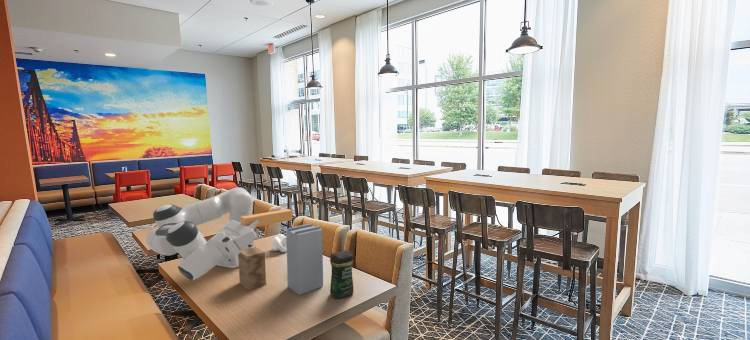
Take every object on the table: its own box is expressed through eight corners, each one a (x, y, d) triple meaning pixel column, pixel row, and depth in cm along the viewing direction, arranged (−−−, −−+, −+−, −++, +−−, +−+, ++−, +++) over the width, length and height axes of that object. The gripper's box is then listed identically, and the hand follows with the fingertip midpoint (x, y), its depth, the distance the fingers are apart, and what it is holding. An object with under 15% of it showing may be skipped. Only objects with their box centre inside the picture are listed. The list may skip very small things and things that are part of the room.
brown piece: (248, 289, 151) (247, 256, 149) (239, 282, 158) (238, 250, 157) (266, 284, 156) (264, 252, 155) (256, 277, 164) (255, 246, 162)
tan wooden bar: (245, 229, 131) (244, 218, 131) (240, 226, 134) (240, 216, 133) (292, 219, 144) (292, 210, 144) (287, 218, 147) (287, 208, 147)
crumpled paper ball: (265, 252, 198) (265, 236, 197) (280, 245, 209) (279, 231, 208) (280, 255, 193) (280, 239, 192) (295, 248, 204) (294, 234, 203)
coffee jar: (337, 301, 141) (336, 257, 139) (327, 293, 147) (326, 251, 145) (356, 294, 147) (356, 251, 145) (346, 287, 153) (346, 246, 151)
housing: (299, 294, 146) (297, 232, 143) (287, 286, 154) (286, 227, 151) (323, 286, 155) (322, 227, 152) (311, 279, 162) (309, 222, 159)
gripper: (219, 242, 137) (248, 220, 144) (239, 256, 122) (270, 231, 129) (210, 231, 134) (240, 208, 142) (229, 243, 119) (262, 218, 127)
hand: (254, 219), depth 135 cm, fingers closed on tan wooden bar, 4 cm apart
